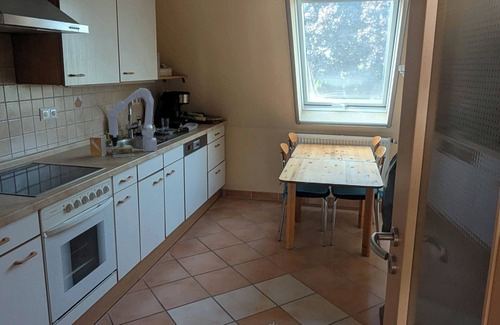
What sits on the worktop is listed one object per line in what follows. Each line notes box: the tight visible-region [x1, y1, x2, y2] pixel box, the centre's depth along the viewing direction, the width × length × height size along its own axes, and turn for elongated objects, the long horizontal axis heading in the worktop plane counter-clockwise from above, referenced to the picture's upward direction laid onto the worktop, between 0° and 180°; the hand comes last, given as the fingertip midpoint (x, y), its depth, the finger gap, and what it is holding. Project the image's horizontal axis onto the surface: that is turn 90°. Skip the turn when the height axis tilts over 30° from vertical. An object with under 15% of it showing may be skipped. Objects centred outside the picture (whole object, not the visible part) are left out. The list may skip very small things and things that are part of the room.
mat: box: [112, 152, 136, 159], centre depth 275 cm, size 14×9×1 cm, turn 114°
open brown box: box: [110, 147, 133, 155], centre depth 284 cm, size 13×11×4 cm
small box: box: [89, 135, 107, 158], centre depth 275 cm, size 8×6×13 cm
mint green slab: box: [110, 141, 133, 151], centre depth 283 cm, size 13×8×4 cm, turn 114°
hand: (114, 146), depth 282 cm, fingers closed
